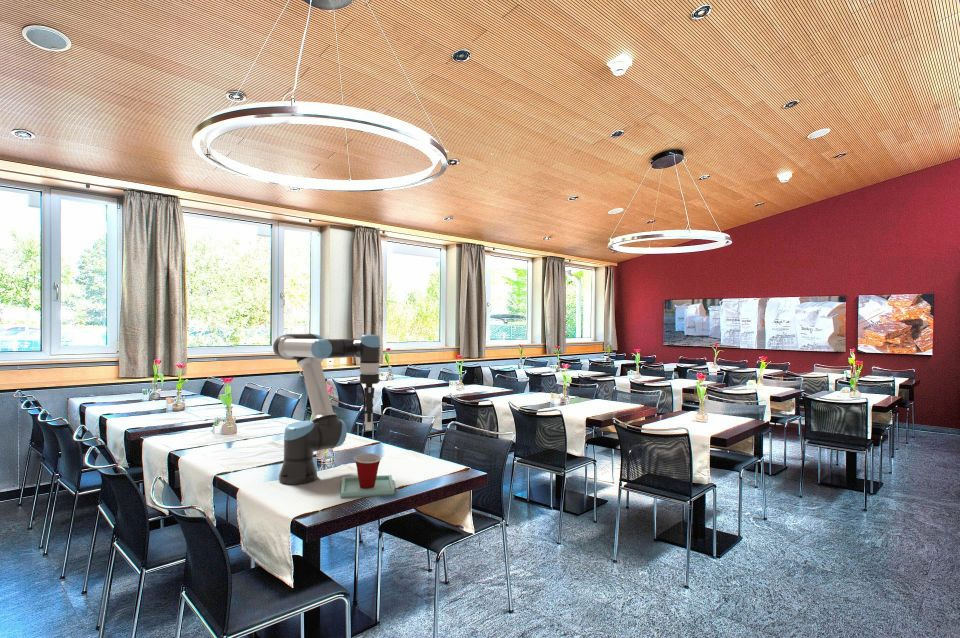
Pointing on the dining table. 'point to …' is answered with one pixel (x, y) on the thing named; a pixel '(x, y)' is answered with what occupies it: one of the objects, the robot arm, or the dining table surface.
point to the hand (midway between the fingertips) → (368, 426)
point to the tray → (380, 488)
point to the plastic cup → (367, 469)
